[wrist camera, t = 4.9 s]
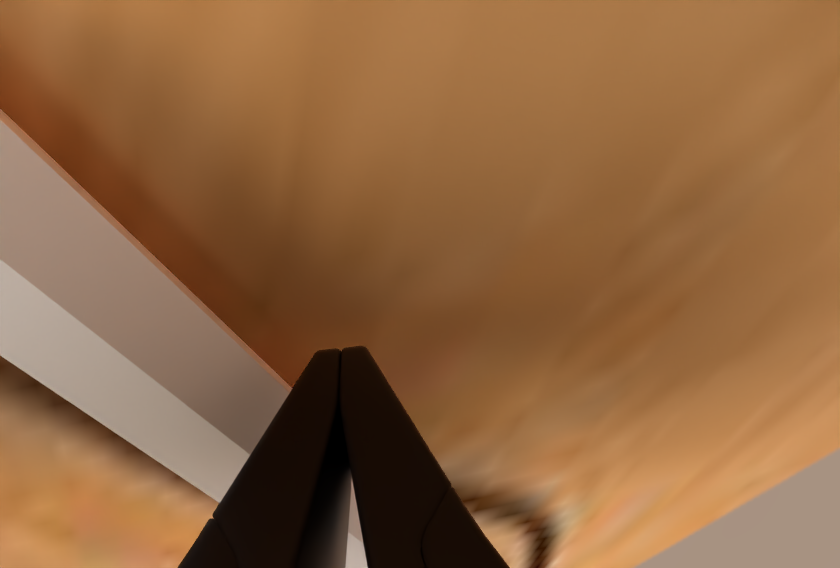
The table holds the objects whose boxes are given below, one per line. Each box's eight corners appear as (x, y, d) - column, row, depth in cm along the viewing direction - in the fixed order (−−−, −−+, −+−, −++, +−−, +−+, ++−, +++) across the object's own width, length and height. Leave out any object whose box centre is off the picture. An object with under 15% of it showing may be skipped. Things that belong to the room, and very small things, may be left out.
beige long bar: (-300, -187, 6) (414, 502, 15) (-518, -86, 5) (357, 564, 14) (-509, -352, 4) (473, 571, 12) (-904, -209, 3) (409, 646, 12)
